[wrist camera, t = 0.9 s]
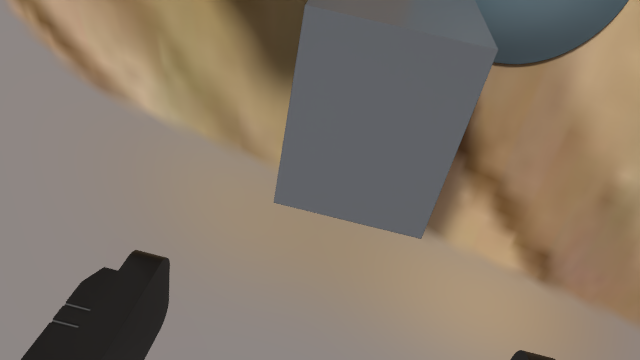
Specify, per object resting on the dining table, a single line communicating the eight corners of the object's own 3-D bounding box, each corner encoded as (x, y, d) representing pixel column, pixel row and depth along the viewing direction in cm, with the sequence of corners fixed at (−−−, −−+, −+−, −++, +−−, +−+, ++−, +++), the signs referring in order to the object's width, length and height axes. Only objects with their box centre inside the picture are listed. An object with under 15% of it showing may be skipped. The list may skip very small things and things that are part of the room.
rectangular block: (471, -8, 23) (498, 49, 16) (418, 143, 28) (421, 238, 21) (337, -39, 24) (304, 4, 16) (308, 117, 29) (273, 202, 21)
